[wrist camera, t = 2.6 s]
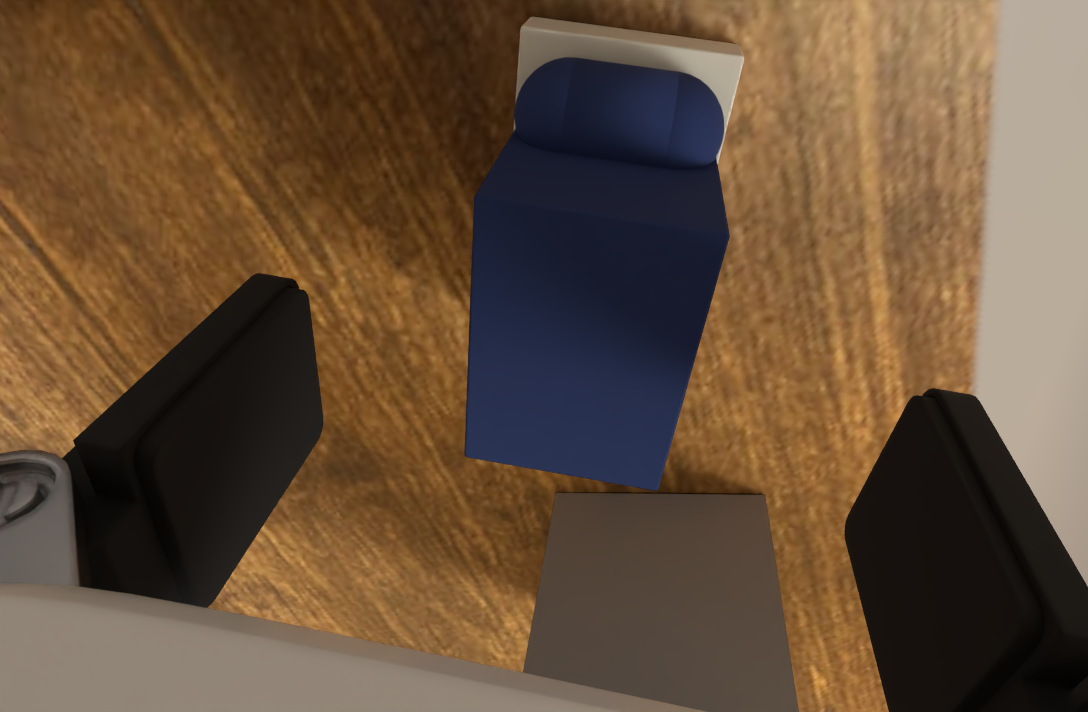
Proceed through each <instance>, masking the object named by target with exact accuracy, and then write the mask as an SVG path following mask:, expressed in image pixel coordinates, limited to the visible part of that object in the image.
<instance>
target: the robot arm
mask: <svg viewBox="0 0 1088 712" xmlns="http://www.w3.org/2000/svg"><path fill="white" fill-rule="evenodd" d="M322 428H323V411H322V403H321V394H320V386H319V378H318V370H317V362H316V353H315V345H314V337H313V329H312V321H311V313H310V304H309V298H308V294H307V293H306V291H304V290H300V289H299V286H298V284H297V282H296V281H295V280H293V279H290V278H284V277H278V276H272V275H266V274H261V273H259V274H255V275H253V276H251V277H250V278H249V279H248V280H247V281H246V282H245V283H244V284H243V285H242V286H241V287H240V288H238V289H237V290H236V291H235V292H234V293H233V294H232V295H231V296H230V297H229V298H228V299H226V300H225V301H224V302H223V303H222V304H221V305H220V306H219V307H218V308H217V309H216V310H215V311H213V312H212V313H211V314H210V315H209V316H208V317H207V318H206V319H205V320H204V321H203V322H201V323H200V324H199V325H198V326H197V327H196V328H195V329H194V330H193V331H192V332H191V333H190V334H188V335H187V336H186V337H185V338H184V339H183V340H182V341H181V342H180V343H179V344H178V345H176V346H175V347H174V348H173V349H172V350H171V351H170V352H169V353H168V354H167V355H166V356H165V357H163V358H162V359H161V360H160V361H159V362H158V363H157V364H156V365H155V366H154V367H153V368H151V369H150V370H149V371H148V372H147V373H146V374H145V375H144V376H143V377H142V378H141V379H140V380H138V381H137V382H136V383H135V384H134V385H133V386H132V387H131V388H130V389H129V390H128V391H126V392H125V393H124V394H123V395H122V396H121V397H120V398H119V399H118V400H117V401H116V402H114V403H113V404H112V405H111V406H110V407H109V408H108V409H107V410H106V411H105V412H104V413H103V414H101V415H100V416H99V417H98V418H97V419H96V420H95V421H94V422H93V423H92V424H91V425H89V426H88V427H87V428H86V429H85V430H84V431H83V432H82V433H81V434H80V435H79V436H78V437H76V438H75V439H74V440H73V441H74V444H75V447H74V448H73V449H72V450H71V451H70V452H68V453H67V454H66V455H65V456H64V457H63V458H62V459H61V458H60V457H59V456H57V455H56V454H52V453H48V452H45V451H41V450H19V451H13V452H7V453H1V454H0V712H706V711H701V710H697V709H692V708H687V707H683V706H678V705H674V704H669V703H664V702H660V701H655V700H650V699H645V698H641V697H636V696H631V695H626V694H622V693H617V692H612V691H608V690H603V689H598V688H593V687H589V686H584V685H579V684H574V683H570V682H565V681H560V680H556V679H551V678H546V677H541V676H537V675H532V674H527V673H522V672H518V671H513V670H508V669H503V668H498V667H494V666H489V665H484V664H479V663H475V662H470V661H465V660H460V659H456V658H451V657H446V656H441V655H436V654H432V653H427V652H422V651H417V650H412V649H407V648H403V647H398V646H393V645H388V644H383V643H378V642H373V641H368V640H364V639H359V638H354V637H349V636H344V635H339V634H334V633H329V632H325V631H320V630H315V629H310V628H305V627H300V626H295V625H290V624H286V623H281V622H276V621H271V620H266V619H261V618H256V617H251V616H247V615H241V614H236V613H231V612H225V611H220V610H215V609H209V608H207V607H208V606H210V605H211V604H212V603H213V601H214V600H215V599H216V597H217V596H218V594H219V593H220V591H221V589H222V588H223V586H224V585H225V583H226V582H227V580H228V579H229V577H230V576H231V574H232V572H233V571H234V569H235V568H236V566H237V565H238V563H239V562H240V560H241V559H242V557H243V555H244V554H245V552H246V551H247V549H248V548H249V546H250V545H251V543H252V542H253V540H254V538H255V537H256V535H257V534H258V532H259V531H260V529H261V528H262V526H263V525H264V523H265V521H266V520H267V518H268V517H269V515H270V514H271V512H272V511H273V509H274V508H275V506H276V504H277V503H278V501H279V500H280V498H281V497H282V495H283V494H284V492H285V491H286V489H287V488H288V486H289V484H290V483H291V481H292V480H293V478H294V477H295V475H296V474H297V472H298V471H299V469H300V467H301V466H302V464H303V463H304V461H305V460H306V458H307V457H308V455H309V454H310V452H311V450H312V449H313V447H314V446H315V444H316V443H317V441H318V439H319V437H320V435H321V432H322ZM845 541H846V545H847V549H848V553H849V556H850V560H851V564H852V568H853V572H854V576H855V580H856V584H857V588H858V592H859V596H860V600H861V604H862V607H863V611H864V615H865V619H866V623H867V627H868V631H869V635H870V639H871V643H872V647H873V651H874V655H875V658H876V662H877V666H878V670H879V674H880V678H881V682H882V686H883V690H884V694H885V698H886V702H887V706H888V709H889V712H1088V587H1087V585H1086V583H1085V581H1084V580H1083V578H1082V576H1081V574H1080V573H1079V571H1078V569H1077V568H1076V566H1075V564H1074V562H1073V561H1072V559H1071V558H1070V556H1069V554H1068V552H1067V551H1066V549H1065V547H1064V545H1063V544H1062V542H1061V540H1060V539H1059V537H1058V535H1057V533H1056V532H1055V530H1054V528H1053V526H1052V525H1051V523H1050V521H1049V520H1048V518H1047V516H1046V514H1045V513H1044V511H1043V509H1042V508H1041V506H1040V504H1039V503H1038V501H1037V499H1036V497H1035V496H1034V494H1033V492H1032V490H1031V489H1030V487H1029V485H1028V484H1027V482H1026V480H1025V478H1024V477H1023V475H1022V473H1021V472H1020V470H1019V469H1018V467H1017V465H1016V463H1015V461H1014V460H1013V458H1012V456H1011V455H1010V453H1009V451H1008V449H1007V448H1006V446H1005V444H1004V443H1003V441H1002V439H1001V437H1000V436H999V434H998V432H997V430H996V429H995V427H994V425H993V424H992V422H991V420H990V418H989V417H988V415H987V413H986V412H985V410H984V408H983V406H982V405H981V403H980V401H979V400H978V399H977V398H976V397H975V396H973V395H970V394H964V393H958V392H952V391H946V390H940V389H935V388H933V389H929V390H927V391H926V392H925V393H924V394H923V396H918V395H917V396H913V397H912V398H911V399H910V400H909V402H908V403H907V405H906V407H905V409H904V411H903V413H902V415H901V417H900V418H899V420H898V422H897V424H896V426H895V428H894V430H893V432H892V433H891V435H890V437H889V439H888V441H887V443H886V445H885V447H884V449H883V450H882V452H881V454H880V456H879V458H878V460H877V462H876V464H875V465H874V467H873V469H872V471H871V473H870V475H869V477H868V479H867V481H866V482H865V484H864V486H863V488H862V490H861V492H860V494H859V496H858V497H857V499H856V501H855V503H854V505H853V507H852V509H851V511H850V512H849V514H848V517H847V519H846V523H845Z"/></svg>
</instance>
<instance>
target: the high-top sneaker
mask: <svg viewBox="0 0 1088 712" xmlns="http://www.w3.org/2000/svg"><path fill="white" fill-rule="evenodd" d="M743 63H744V55H743V53H742V50H741V48H740V45H738V44H733V43H726V42H719V41H711V40H704V39H696V38H689V37H681V36H674V35H666V34H659V33H651V32H644V31H636V30H629V29H622V28H614V27H607V26H599V25H592V24H584V23H577V22H569V21H562V20H554V19H547V18H539V17H530V18H529V19H528V20H527V21H526V22H525V23H524V24H523V25H522V26H521V29H520V43H519V58H518V72H517V87H516V101H515V111H514V130H513V133H512V135H511V137H510V138H509V140H508V142H507V143H506V145H505V147H504V148H503V150H502V152H501V153H500V155H499V157H498V158H497V160H496V162H495V163H494V165H493V166H492V168H491V170H490V171H489V173H488V175H487V176H486V178H485V180H484V181H483V183H482V185H481V186H480V188H479V190H478V191H477V193H476V195H475V197H474V215H473V241H472V268H471V295H470V322H469V349H468V376H467V403H466V430H465V456H466V457H469V458H475V459H480V460H486V461H491V462H497V463H503V464H508V465H514V466H520V467H525V468H531V469H536V470H542V471H548V472H553V473H559V474H565V475H570V476H576V477H581V478H587V479H593V480H598V481H604V482H610V483H615V484H621V485H626V486H632V487H638V488H643V489H649V490H655V491H656V490H658V488H659V485H660V481H661V478H662V474H663V470H664V467H665V463H666V460H667V456H668V453H669V449H670V446H671V442H672V439H673V435H674V432H675V428H676V424H677V421H678V417H679V414H680V410H681V407H682V403H683V400H684V396H685V393H686V389H687V385H688V382H689V378H690V375H691V371H692V368H693V364H694V361H695V357H696V354H697V350H698V347H699V343H700V339H701V336H702V332H703V329H704V325H705V322H706V318H707V315H708V311H709V308H710V304H711V300H712V297H713V293H714V290H715V286H716V283H717V279H718V276H719V272H720V269H721V265H722V262H723V258H724V254H725V251H726V247H727V244H728V240H729V237H730V235H729V229H728V223H727V217H726V212H725V206H724V200H723V194H722V188H721V182H720V176H719V170H718V161H719V157H720V153H721V149H722V145H723V141H724V137H725V134H726V130H727V126H728V122H729V118H730V114H731V110H732V106H733V102H734V98H735V94H736V90H737V86H738V82H739V78H740V74H741V70H742V66H743Z"/></svg>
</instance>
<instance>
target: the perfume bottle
mask: <svg viewBox="0 0 1088 712" xmlns="http://www.w3.org/2000/svg"><path fill="white" fill-rule="evenodd" d="M523 673H527V674H532V675H537V676H541V677H546V678H551V679H556V680H560V681H565V682H570V683H574V684H579V685H584V686H589V687H593V688H598V689H603V690H608V691H612V692H617V693H622V694H626V695H631V696H636V697H641V698H645V699H650V700H655V701H660V702H664V703H669V704H674V705H678V706H683V707H687V708H692V709H697V710H701V711H706V712H799V710H798V703H797V697H796V690H795V684H794V678H793V671H792V665H791V658H790V652H789V645H788V639H787V633H786V626H785V620H784V613H783V607H782V601H781V594H780V588H779V581H778V575H777V568H776V562H775V556H774V549H773V543H772V536H771V530H770V524H769V517H768V511H767V504H766V498H765V495H727V494H631V493H556V494H555V500H554V505H553V511H552V516H551V522H550V527H549V533H548V538H547V544H546V549H545V555H544V560H543V566H542V571H541V577H540V582H539V587H538V593H537V598H536V604H535V609H534V615H533V620H532V626H531V631H530V637H529V642H528V648H527V653H526V659H525V664H524V670H523Z"/></svg>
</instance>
